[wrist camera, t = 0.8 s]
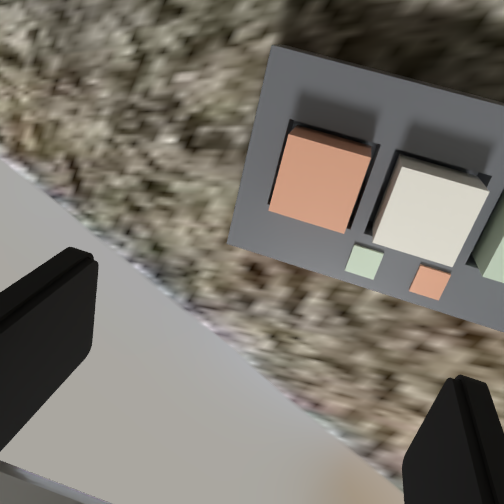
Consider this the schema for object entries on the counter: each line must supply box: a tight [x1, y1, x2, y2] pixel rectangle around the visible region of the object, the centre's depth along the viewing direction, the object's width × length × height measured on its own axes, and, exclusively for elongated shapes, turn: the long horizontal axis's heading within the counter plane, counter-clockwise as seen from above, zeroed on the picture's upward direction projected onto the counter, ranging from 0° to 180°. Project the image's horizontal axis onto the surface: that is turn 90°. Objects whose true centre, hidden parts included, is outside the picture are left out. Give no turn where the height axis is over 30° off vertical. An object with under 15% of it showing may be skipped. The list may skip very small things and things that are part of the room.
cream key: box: [372, 154, 490, 267], centre depth 25 cm, size 4×4×3 cm
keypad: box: [227, 45, 504, 332], centre depth 27 cm, size 21×12×4 cm, turn 77°
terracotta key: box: [268, 125, 371, 234], centre depth 26 cm, size 4×4×3 cm
